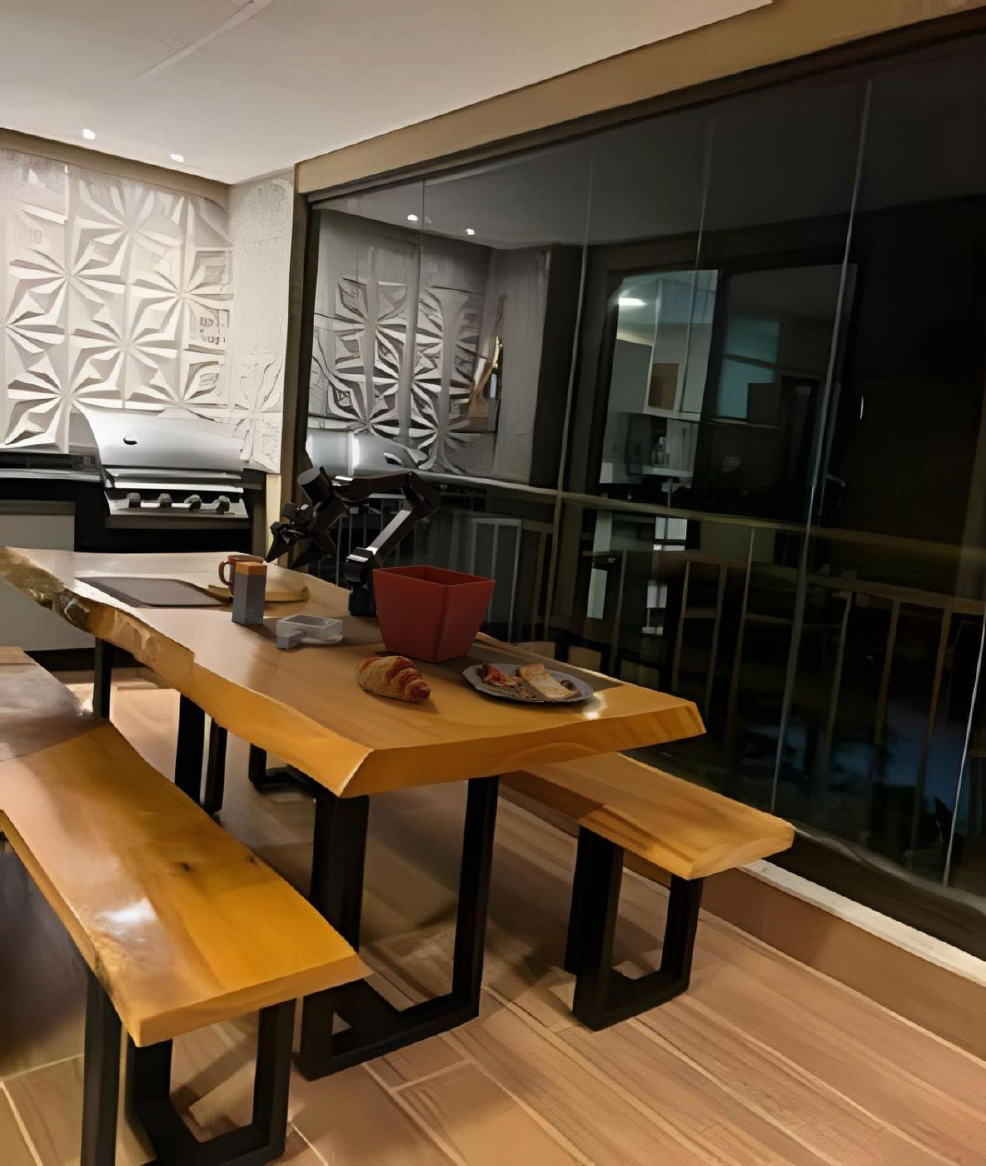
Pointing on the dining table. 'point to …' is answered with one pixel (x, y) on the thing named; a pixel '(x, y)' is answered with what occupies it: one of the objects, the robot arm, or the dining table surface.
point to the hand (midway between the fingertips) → (278, 565)
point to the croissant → (392, 678)
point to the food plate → (529, 681)
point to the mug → (232, 563)
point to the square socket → (307, 630)
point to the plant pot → (430, 610)
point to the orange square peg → (249, 593)
